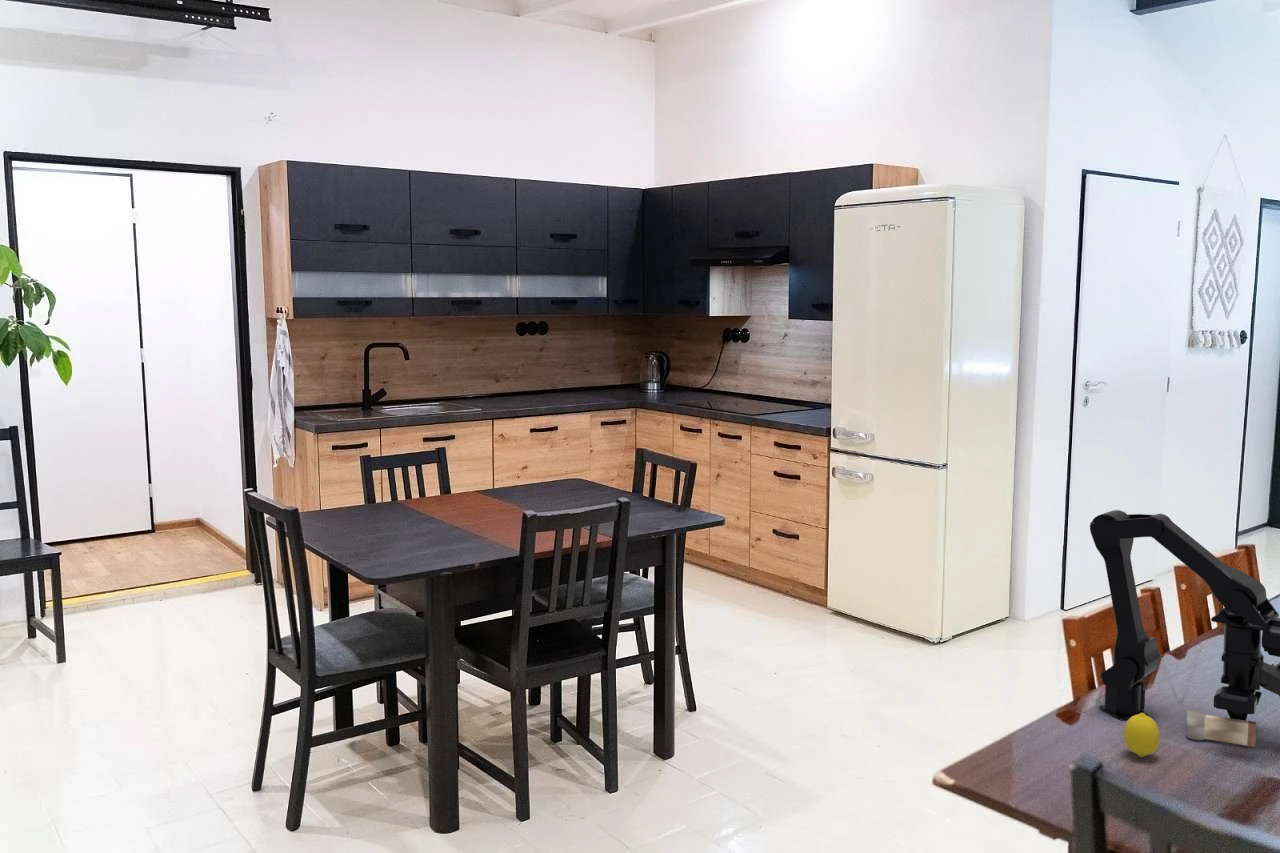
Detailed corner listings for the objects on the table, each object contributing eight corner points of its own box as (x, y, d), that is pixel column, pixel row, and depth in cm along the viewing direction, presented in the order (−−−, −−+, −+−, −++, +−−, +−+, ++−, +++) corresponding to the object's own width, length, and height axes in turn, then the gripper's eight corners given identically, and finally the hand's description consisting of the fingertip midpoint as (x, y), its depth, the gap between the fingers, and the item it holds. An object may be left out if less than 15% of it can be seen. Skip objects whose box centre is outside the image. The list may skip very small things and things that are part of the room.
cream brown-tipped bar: (1186, 738, 187) (1187, 714, 187) (1186, 732, 190) (1187, 709, 189) (1255, 749, 182) (1256, 725, 182) (1254, 743, 185) (1255, 719, 184)
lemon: (1156, 766, 177) (1158, 721, 176) (1121, 759, 180) (1123, 715, 179) (1160, 754, 181) (1161, 711, 181) (1125, 748, 184) (1127, 705, 183)
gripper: (1289, 674, 172) (1286, 762, 174) (1300, 640, 187) (1297, 722, 189) (1214, 662, 179) (1212, 747, 181) (1229, 631, 194) (1227, 710, 196)
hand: (1239, 731), depth 186 cm, fingers closed
